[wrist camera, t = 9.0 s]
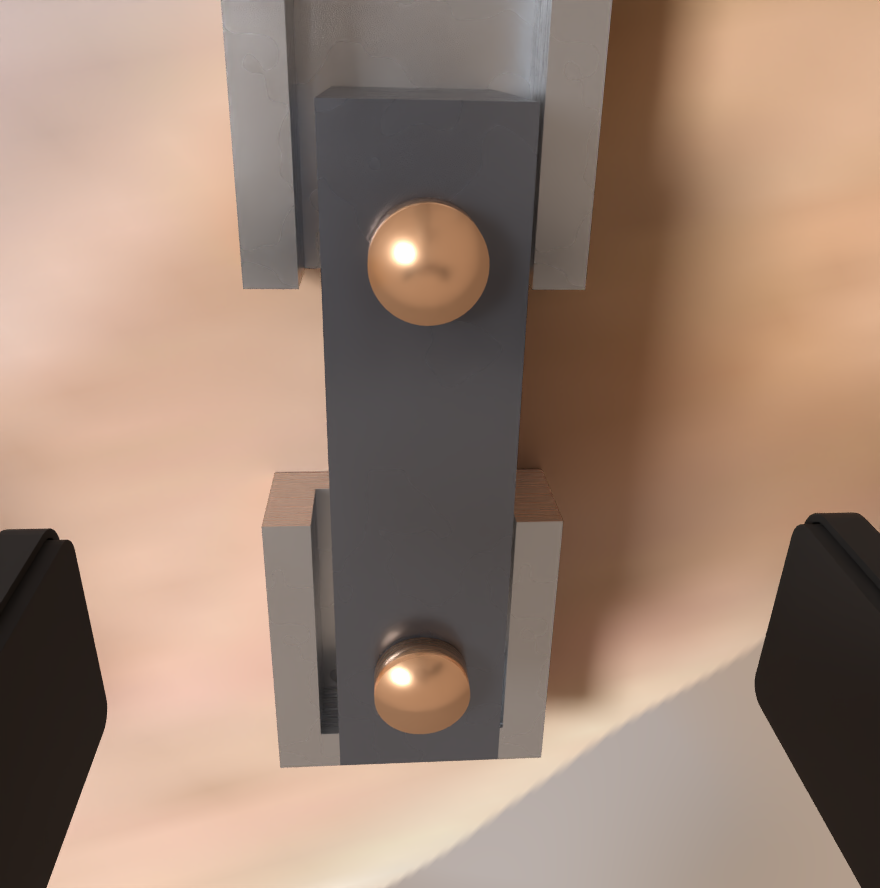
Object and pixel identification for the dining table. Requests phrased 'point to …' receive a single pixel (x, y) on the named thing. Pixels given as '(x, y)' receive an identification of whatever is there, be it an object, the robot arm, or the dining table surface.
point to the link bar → (423, 405)
